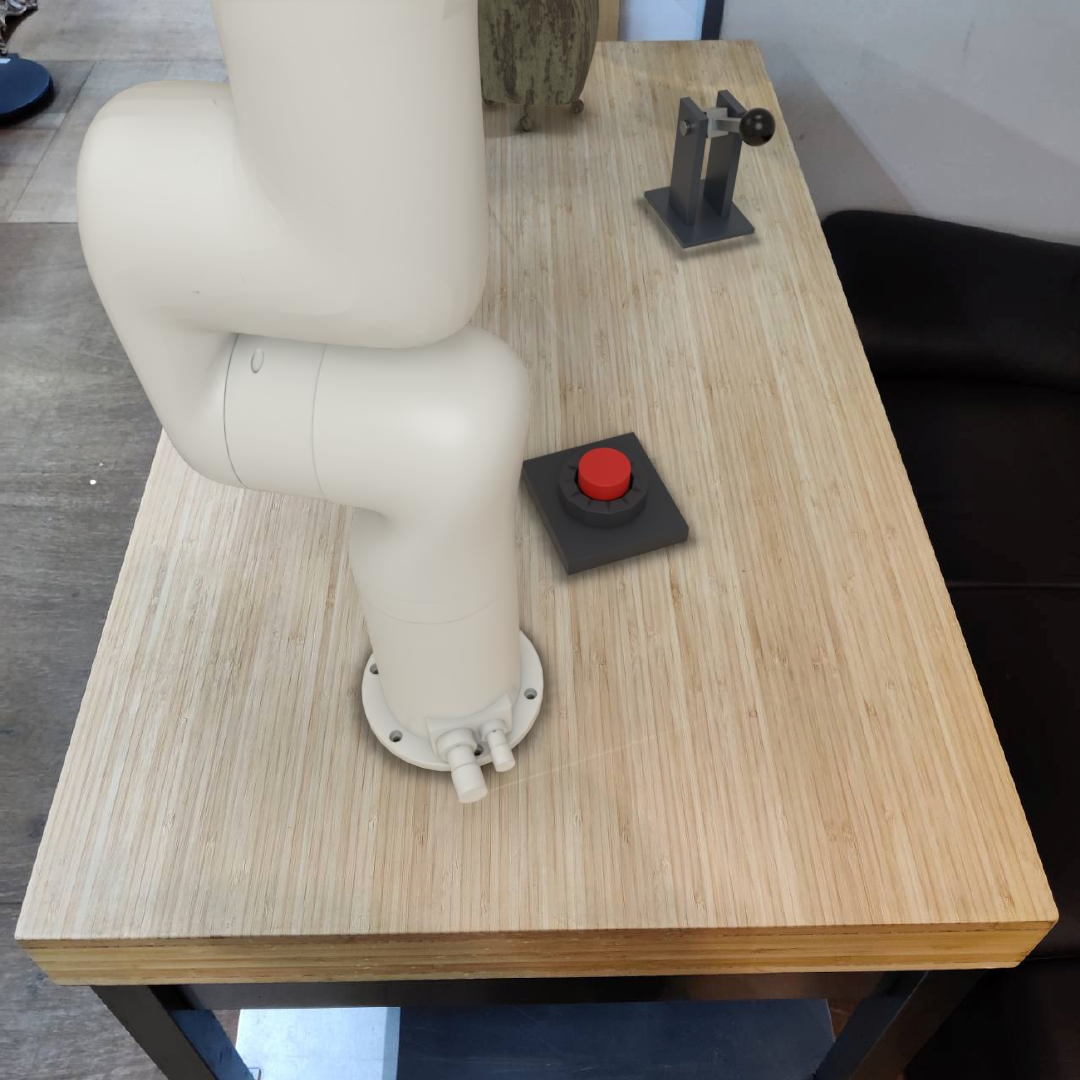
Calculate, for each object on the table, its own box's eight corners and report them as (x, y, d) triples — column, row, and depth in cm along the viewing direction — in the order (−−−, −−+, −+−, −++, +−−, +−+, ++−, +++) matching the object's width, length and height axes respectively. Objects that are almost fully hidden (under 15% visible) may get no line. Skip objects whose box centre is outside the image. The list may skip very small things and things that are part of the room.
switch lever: (783, 144, 87) (782, 105, 85) (750, 151, 86) (748, 111, 85) (720, 136, 97) (718, 101, 95) (690, 142, 96) (688, 107, 95)
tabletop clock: (595, 107, 118) (606, -134, 98) (584, 147, 112) (593, -99, 93) (477, 96, 119) (464, -143, 100) (460, 135, 114) (443, -109, 94)
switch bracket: (752, 241, 101) (776, 123, 91) (682, 257, 100) (697, 138, 90) (710, 189, 107) (728, 72, 97) (643, 203, 105) (653, 86, 95)
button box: (687, 541, 77) (692, 513, 74) (567, 576, 75) (568, 548, 72) (632, 445, 84) (635, 416, 81) (521, 475, 81) (520, 445, 79)
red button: (637, 493, 76) (639, 478, 75) (589, 506, 75) (590, 491, 74) (617, 457, 78) (619, 442, 77) (570, 469, 78) (571, 454, 76)
